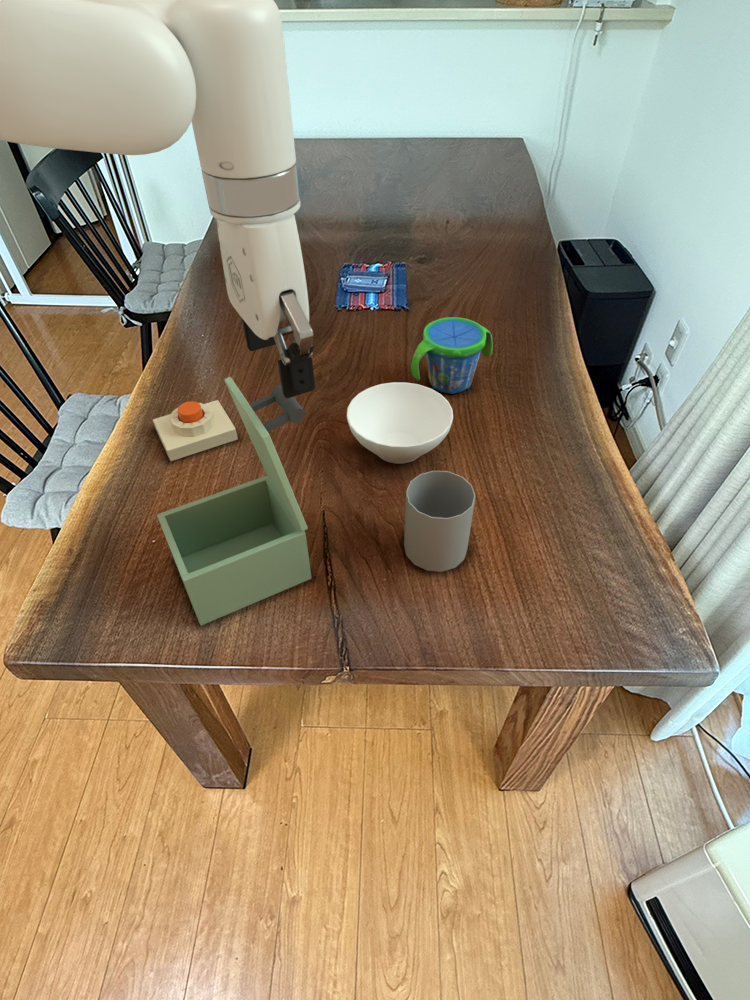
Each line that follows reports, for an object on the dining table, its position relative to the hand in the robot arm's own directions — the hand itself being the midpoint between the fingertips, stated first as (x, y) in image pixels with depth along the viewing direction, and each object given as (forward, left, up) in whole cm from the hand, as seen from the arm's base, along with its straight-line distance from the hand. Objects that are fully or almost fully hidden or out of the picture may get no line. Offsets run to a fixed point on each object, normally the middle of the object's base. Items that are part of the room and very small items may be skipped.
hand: (280, 368), depth 61 cm
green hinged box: (-9, 0, -27) cm, 29 cm away
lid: (-3, 0, -11) cm, 11 cm away
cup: (+15, -9, -28) cm, 33 cm away
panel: (-6, +30, -27) cm, 41 cm away
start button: (-6, +30, -24) cm, 39 cm away
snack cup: (+38, +22, -28) cm, 52 cm away
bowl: (+21, +11, -28) cm, 36 cm away
